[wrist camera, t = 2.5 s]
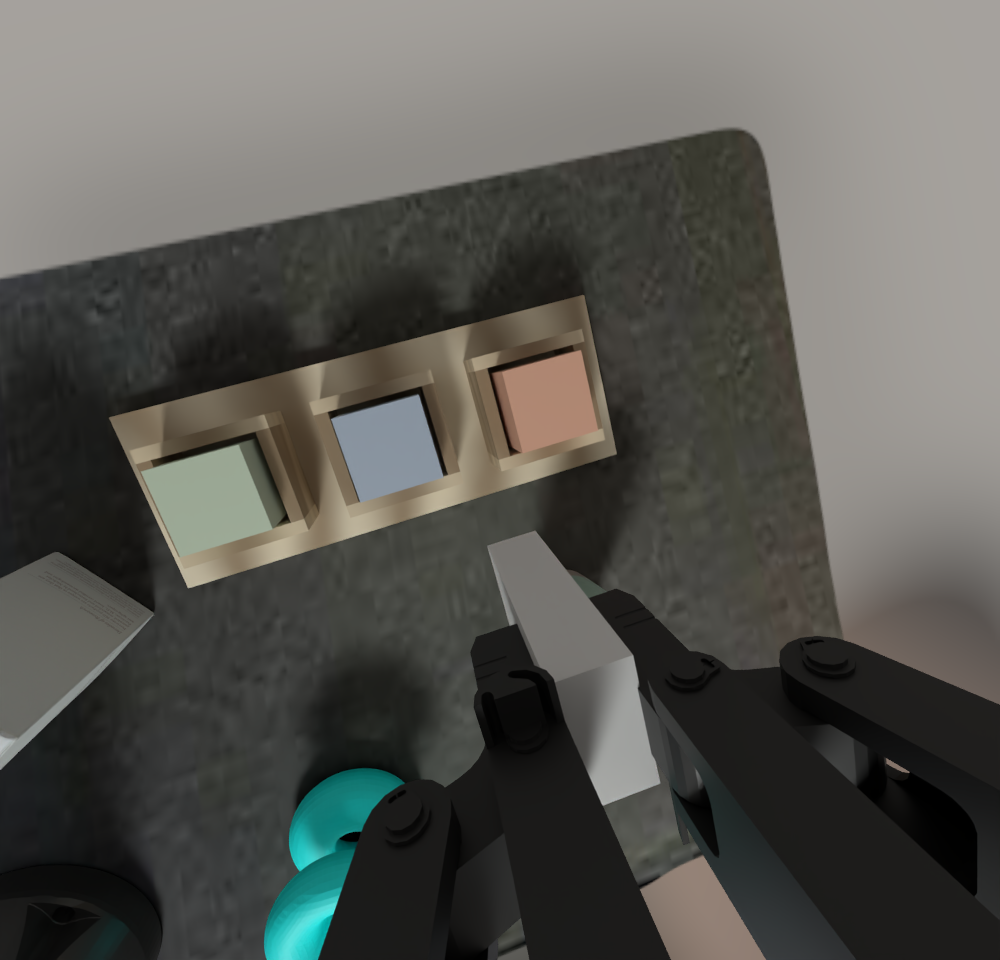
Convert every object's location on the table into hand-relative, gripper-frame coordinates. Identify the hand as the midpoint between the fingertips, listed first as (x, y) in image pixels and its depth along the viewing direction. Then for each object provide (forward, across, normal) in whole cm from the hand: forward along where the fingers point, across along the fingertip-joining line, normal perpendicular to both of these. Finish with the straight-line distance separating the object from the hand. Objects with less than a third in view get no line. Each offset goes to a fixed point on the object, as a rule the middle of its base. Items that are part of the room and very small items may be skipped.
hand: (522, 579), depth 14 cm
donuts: (+22, -16, -26) cm, 37 cm away
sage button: (+18, -14, +3) cm, 23 cm away
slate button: (+19, -4, +3) cm, 19 cm away
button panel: (+22, -4, +3) cm, 22 cm away
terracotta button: (+19, +6, +3) cm, 20 cm away
